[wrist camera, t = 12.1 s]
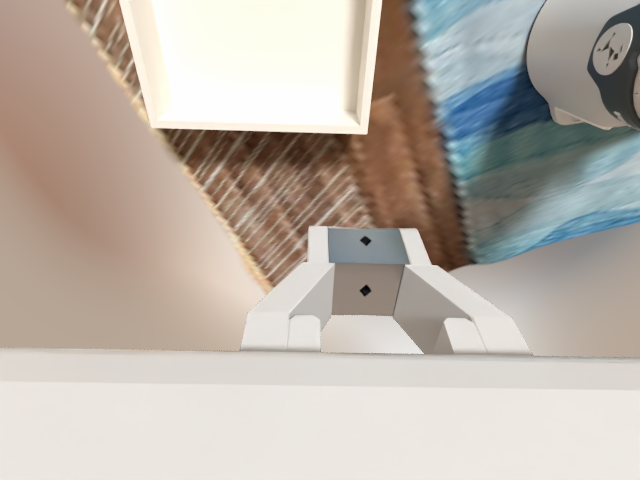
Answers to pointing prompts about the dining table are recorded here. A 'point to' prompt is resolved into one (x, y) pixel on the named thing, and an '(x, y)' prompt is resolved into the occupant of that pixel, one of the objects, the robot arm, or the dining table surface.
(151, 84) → the drawer box
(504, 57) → the dining table surface
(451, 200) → the dining table surface
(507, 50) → the dining table surface
